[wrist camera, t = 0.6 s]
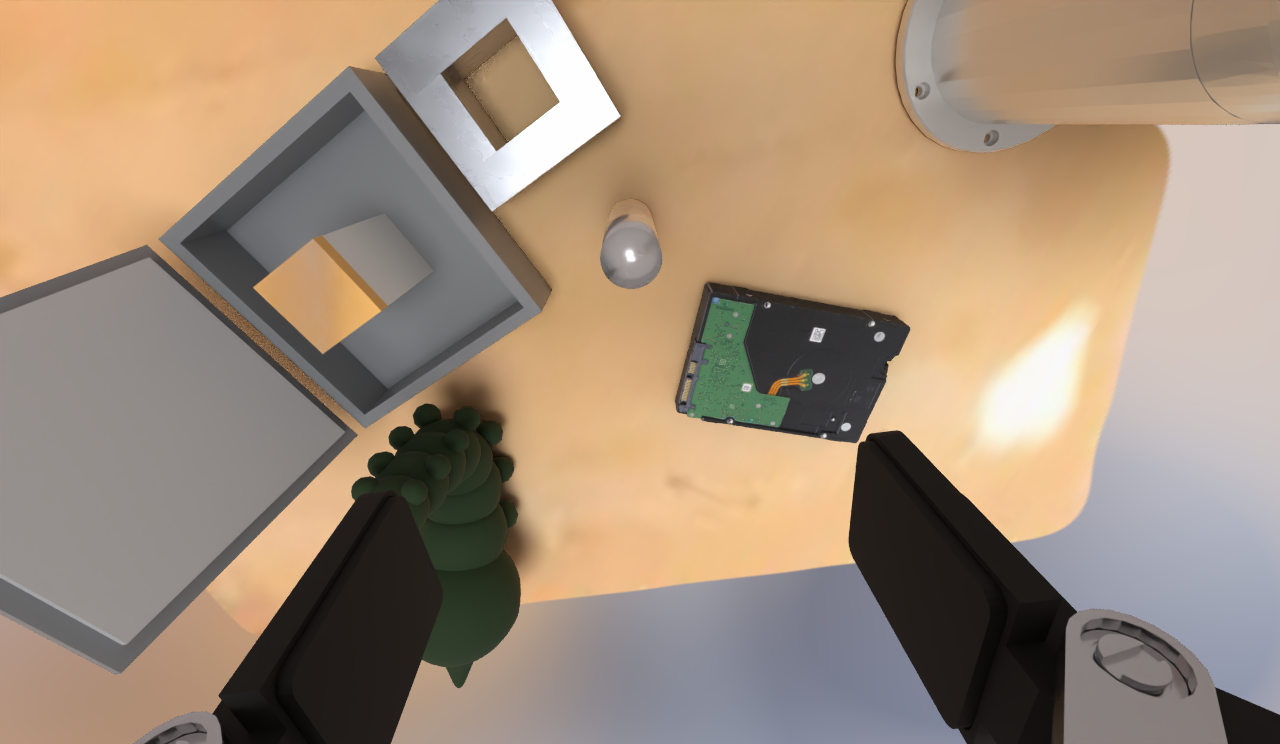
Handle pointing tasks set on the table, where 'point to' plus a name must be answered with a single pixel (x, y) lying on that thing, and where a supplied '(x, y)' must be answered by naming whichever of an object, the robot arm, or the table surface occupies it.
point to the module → (344, 279)
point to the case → (342, 196)
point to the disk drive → (786, 363)
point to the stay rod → (630, 245)
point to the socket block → (434, 86)
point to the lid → (137, 452)
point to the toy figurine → (456, 527)
